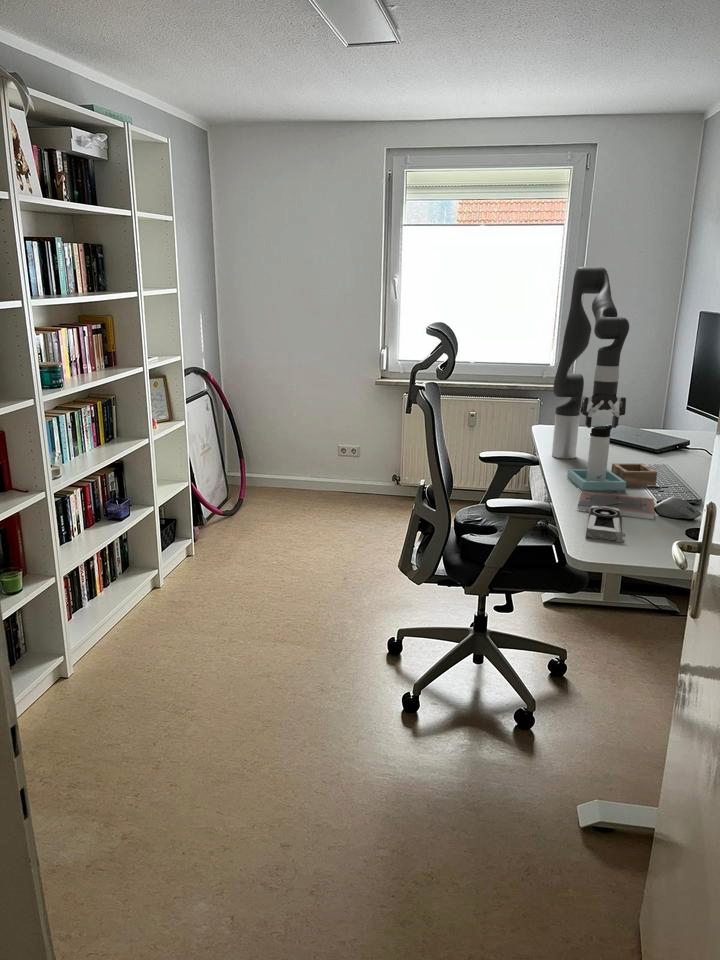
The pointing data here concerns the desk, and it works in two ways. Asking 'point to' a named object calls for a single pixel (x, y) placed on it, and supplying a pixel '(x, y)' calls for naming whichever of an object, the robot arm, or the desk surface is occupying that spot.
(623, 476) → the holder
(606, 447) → the travel mug
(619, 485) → the tray
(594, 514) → the graphics card
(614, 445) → the desk surface
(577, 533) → the desk surface
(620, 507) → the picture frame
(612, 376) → the robot arm
